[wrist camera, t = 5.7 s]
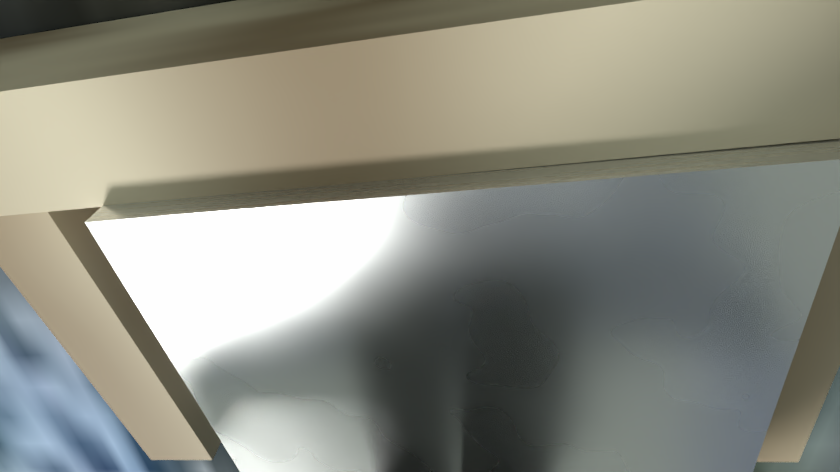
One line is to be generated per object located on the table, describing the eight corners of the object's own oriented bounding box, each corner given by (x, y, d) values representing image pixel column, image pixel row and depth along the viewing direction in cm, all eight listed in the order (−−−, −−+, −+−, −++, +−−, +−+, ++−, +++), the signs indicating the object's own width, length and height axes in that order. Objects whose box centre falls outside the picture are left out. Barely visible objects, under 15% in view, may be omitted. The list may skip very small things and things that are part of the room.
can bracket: (1210, -159, 6) (1835, -169, 3) (929, 350, 11) (1084, 523, 8) (-160, 64, 10) (-427, 152, 7) (83, 374, 14) (-15, 501, 12)
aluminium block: (712, 34, 8) (865, 157, 5) (668, 320, 11) (739, 507, 8) (223, 95, 9) (84, 222, 6) (314, 334, 13) (255, 497, 10)
